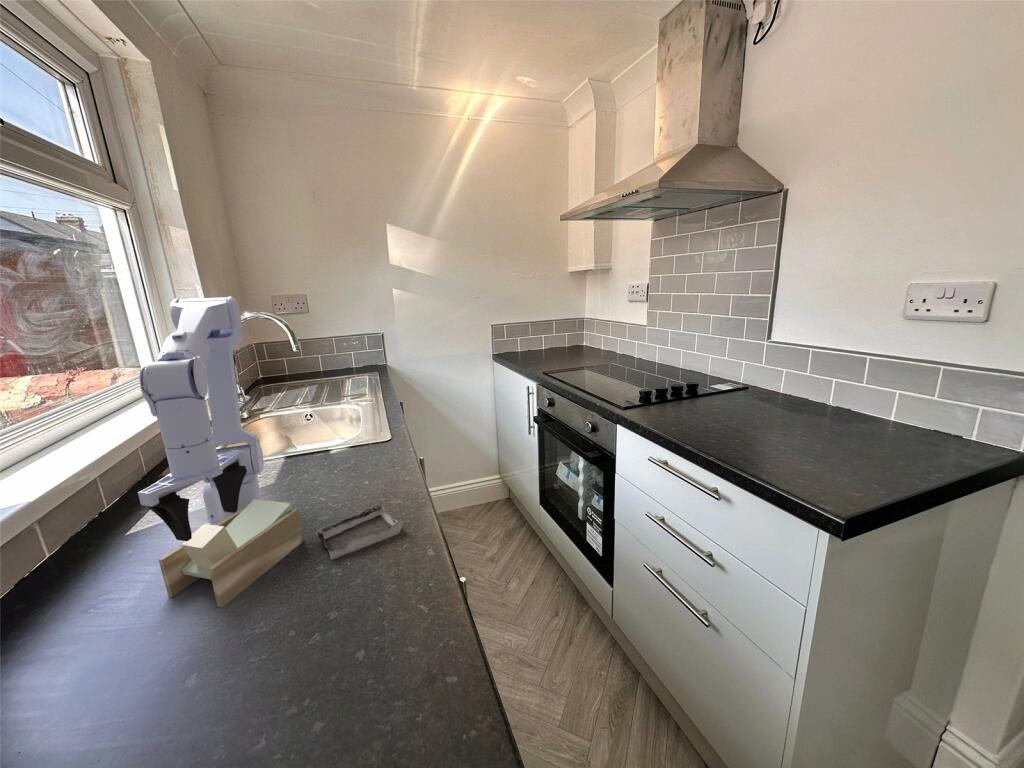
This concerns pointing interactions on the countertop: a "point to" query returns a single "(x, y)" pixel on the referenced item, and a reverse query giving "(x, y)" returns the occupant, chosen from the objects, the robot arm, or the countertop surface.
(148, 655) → the countertop surface
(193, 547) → the beige cube
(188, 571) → the trapdoor
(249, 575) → the trapdoor frame
